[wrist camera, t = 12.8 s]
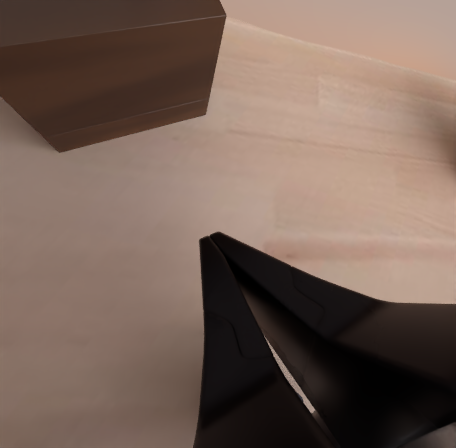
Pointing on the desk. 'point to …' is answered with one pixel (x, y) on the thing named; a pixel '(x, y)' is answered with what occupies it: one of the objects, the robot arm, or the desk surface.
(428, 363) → the robot arm
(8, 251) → the desk surface
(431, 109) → the desk surface
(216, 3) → the walnut bookend
